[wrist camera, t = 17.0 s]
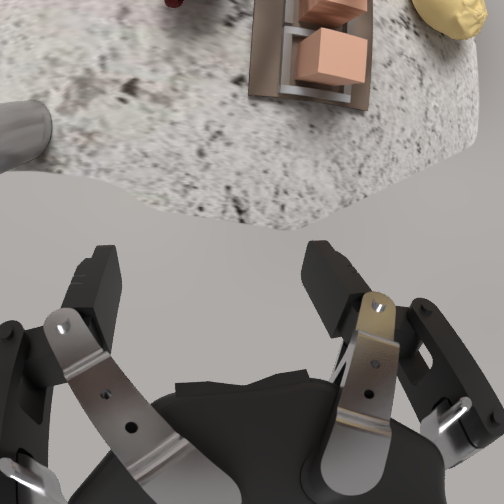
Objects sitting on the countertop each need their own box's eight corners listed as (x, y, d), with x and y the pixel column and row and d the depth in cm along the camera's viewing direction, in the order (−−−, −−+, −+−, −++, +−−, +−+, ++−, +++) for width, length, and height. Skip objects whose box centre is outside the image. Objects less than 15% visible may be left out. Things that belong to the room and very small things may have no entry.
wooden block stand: (248, 95, 32) (258, 89, 23) (256, -23, 23) (268, -58, 15) (363, 110, 34) (405, 115, 25) (368, 1, 25) (407, -19, 16)
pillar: (294, 79, 30) (317, 72, 23) (297, 44, 28) (321, 27, 20) (332, 86, 31) (364, 82, 23) (335, 51, 29) (367, 39, 21)
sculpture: (438, 52, 29) (485, 50, 20) (389, -6, 25) (432, -23, 15) (463, 23, 26) (505, 19, 16) (420, -29, 21) (459, -44, 12)
